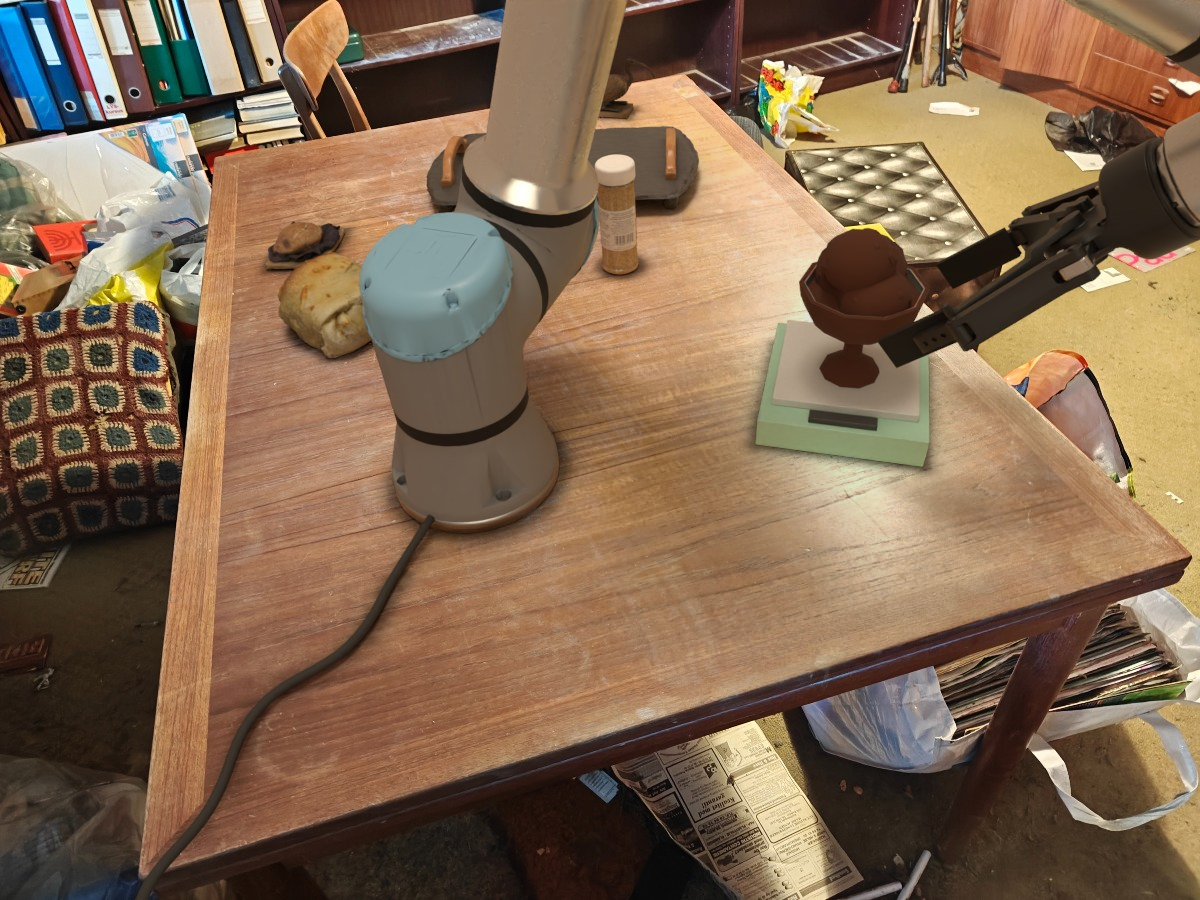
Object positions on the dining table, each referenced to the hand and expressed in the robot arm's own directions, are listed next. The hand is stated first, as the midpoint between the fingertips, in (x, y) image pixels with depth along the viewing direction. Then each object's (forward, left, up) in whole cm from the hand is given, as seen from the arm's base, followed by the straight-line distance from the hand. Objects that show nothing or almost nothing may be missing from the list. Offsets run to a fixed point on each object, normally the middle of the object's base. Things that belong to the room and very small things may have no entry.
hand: (918, 312), depth 73 cm
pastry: (+5, +62, -12) cm, 63 cm away
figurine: (+70, +46, -12) cm, 84 cm away
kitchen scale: (+2, +5, -12) cm, 13 cm away
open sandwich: (+20, +75, -12) cm, 78 cm away
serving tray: (+44, +47, -12) cm, 66 cm away
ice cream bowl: (+2, +5, -8) cm, 10 cm away
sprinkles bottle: (+23, +33, -12) cm, 42 cm away
